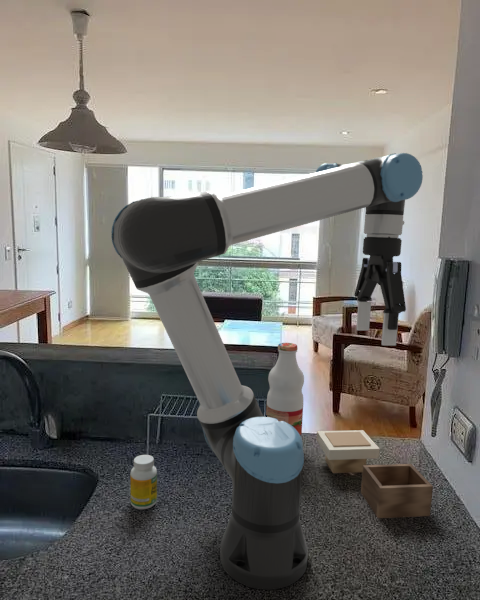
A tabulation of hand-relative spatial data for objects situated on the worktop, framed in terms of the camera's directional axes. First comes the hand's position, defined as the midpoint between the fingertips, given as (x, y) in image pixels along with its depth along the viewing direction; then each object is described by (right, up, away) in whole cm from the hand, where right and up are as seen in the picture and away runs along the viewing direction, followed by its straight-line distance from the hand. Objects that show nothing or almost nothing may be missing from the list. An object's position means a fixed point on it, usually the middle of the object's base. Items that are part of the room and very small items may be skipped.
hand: (374, 337), depth 98 cm
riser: (-3, -33, +14) cm, 36 cm away
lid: (-3, -28, +13) cm, 31 cm away
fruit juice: (-17, -31, +23) cm, 43 cm away
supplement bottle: (-49, -34, -3) cm, 59 cm away
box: (+4, -35, -1) cm, 36 cm away
